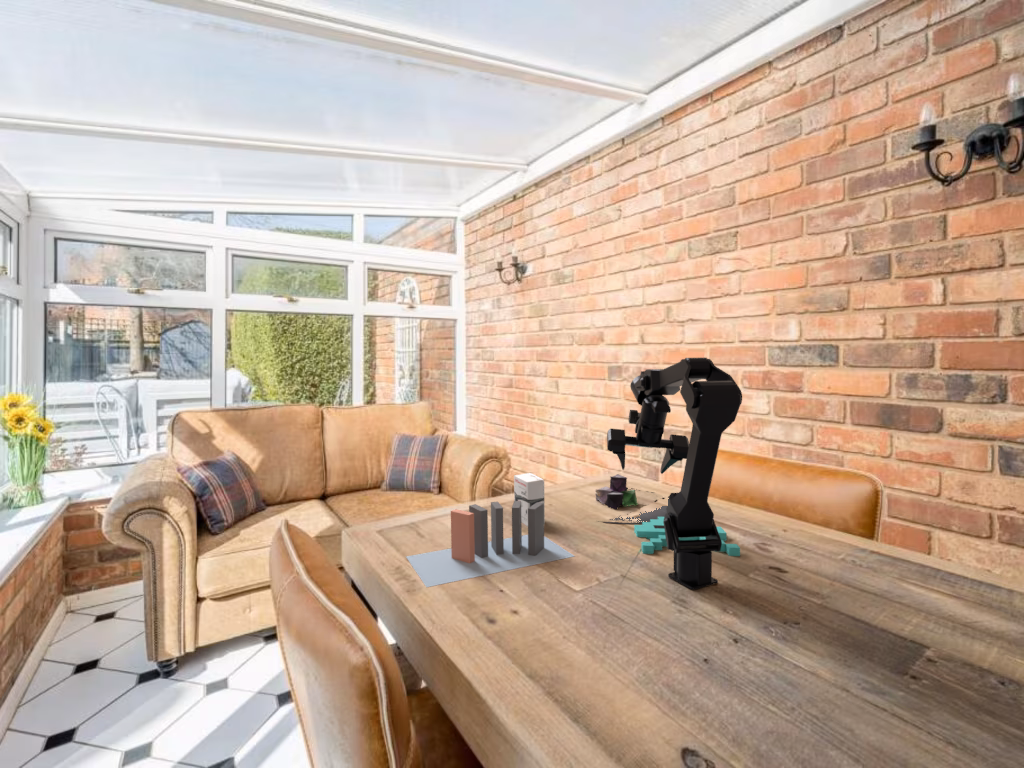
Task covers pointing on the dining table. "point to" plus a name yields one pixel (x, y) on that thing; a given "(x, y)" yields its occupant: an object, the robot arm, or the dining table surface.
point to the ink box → (528, 493)
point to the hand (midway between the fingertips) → (642, 470)
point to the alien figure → (657, 538)
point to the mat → (481, 562)
